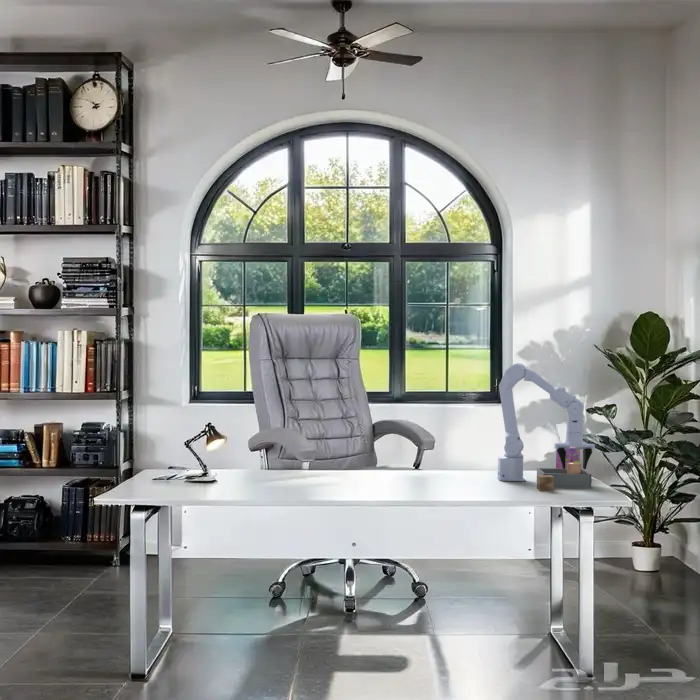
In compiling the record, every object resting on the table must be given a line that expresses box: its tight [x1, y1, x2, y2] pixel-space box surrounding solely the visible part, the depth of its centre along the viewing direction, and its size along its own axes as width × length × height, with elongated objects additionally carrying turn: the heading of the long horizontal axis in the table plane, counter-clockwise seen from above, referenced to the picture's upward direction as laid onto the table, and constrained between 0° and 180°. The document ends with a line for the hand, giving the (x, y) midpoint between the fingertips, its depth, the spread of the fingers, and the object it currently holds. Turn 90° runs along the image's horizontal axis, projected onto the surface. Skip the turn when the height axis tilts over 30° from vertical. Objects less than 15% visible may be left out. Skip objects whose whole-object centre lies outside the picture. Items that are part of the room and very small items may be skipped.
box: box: [555, 447, 581, 469], centre depth 354 cm, size 10×6×12 cm, turn 143°
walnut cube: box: [536, 474, 554, 492], centre depth 323 cm, size 5×5×5 cm
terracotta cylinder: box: [567, 462, 582, 474], centre depth 337 cm, size 5×5×7 cm
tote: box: [536, 467, 592, 489], centre depth 334 cm, size 17×13×5 cm
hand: (574, 468), depth 337 cm, fingers open, 7 cm apart
